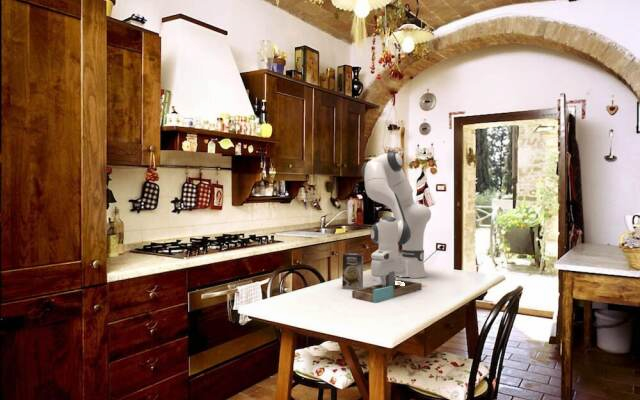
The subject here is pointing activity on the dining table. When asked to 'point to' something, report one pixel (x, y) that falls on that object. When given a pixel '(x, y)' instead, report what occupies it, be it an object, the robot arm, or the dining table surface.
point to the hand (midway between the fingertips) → (388, 284)
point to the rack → (385, 291)
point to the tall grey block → (390, 280)
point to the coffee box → (352, 271)
